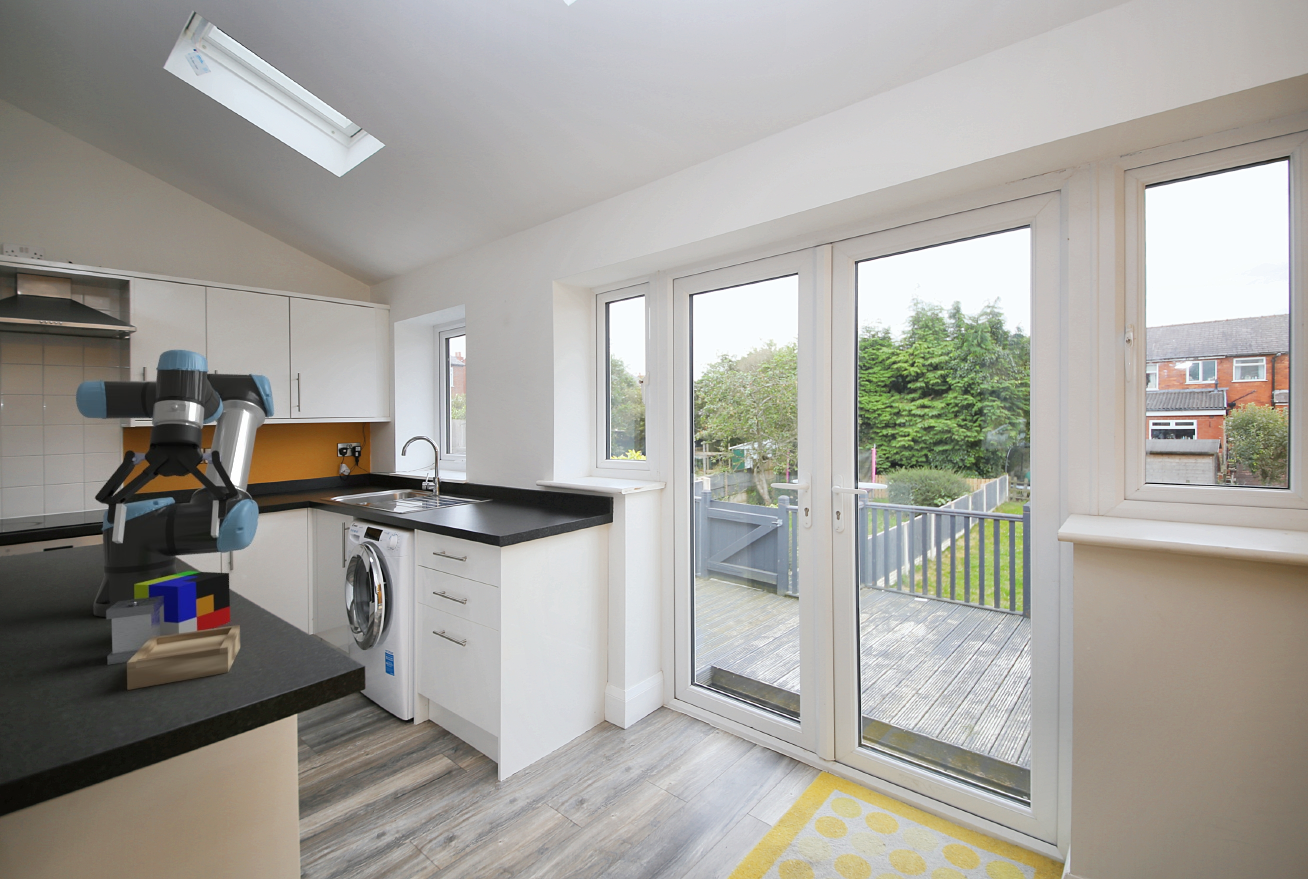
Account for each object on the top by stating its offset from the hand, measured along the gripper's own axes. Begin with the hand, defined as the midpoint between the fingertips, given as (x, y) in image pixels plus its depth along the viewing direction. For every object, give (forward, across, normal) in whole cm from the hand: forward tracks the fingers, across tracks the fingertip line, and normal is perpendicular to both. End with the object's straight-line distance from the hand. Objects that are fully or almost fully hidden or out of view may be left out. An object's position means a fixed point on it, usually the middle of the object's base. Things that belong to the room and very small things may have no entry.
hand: (167, 539), depth 103 cm
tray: (+23, +6, -9) cm, 25 cm away
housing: (+19, -3, +1) cm, 20 cm away
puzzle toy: (+16, +1, +13) cm, 20 cm away
